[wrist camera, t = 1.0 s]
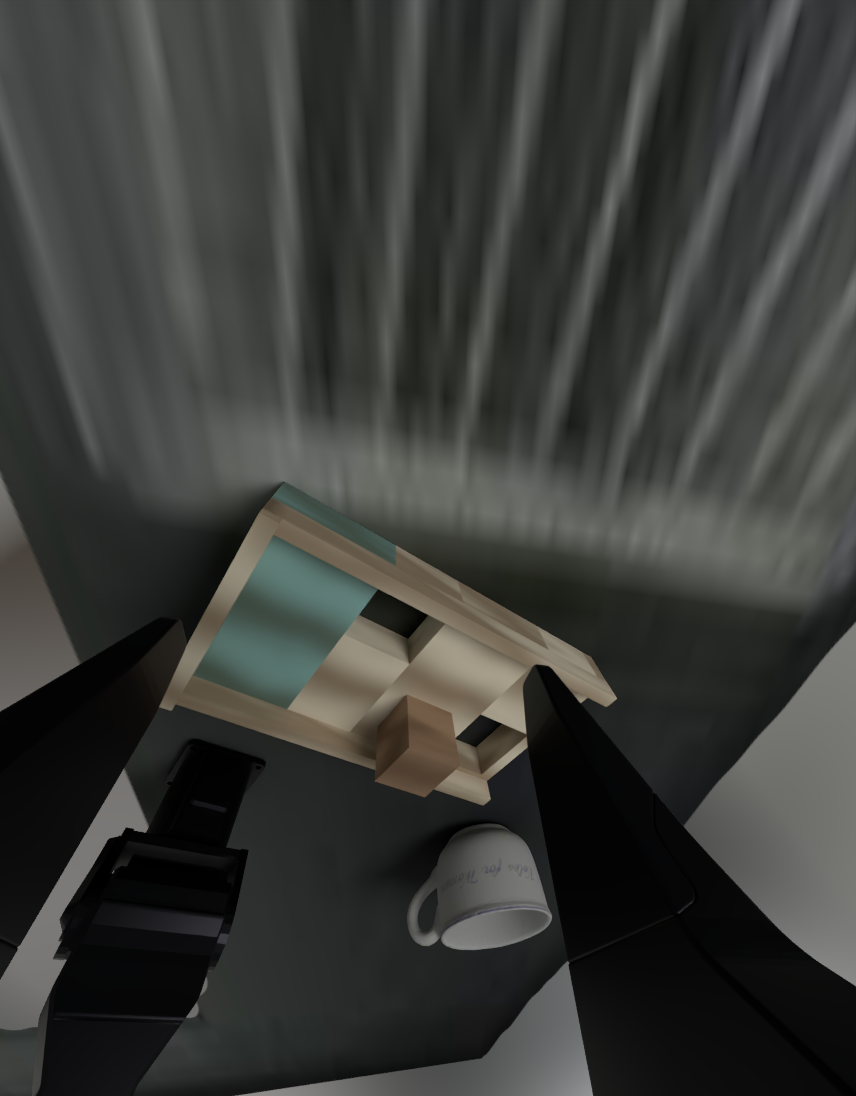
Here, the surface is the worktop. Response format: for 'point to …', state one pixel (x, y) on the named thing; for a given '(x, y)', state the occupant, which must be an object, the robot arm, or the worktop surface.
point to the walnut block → (416, 747)
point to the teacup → (482, 892)
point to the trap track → (361, 646)
